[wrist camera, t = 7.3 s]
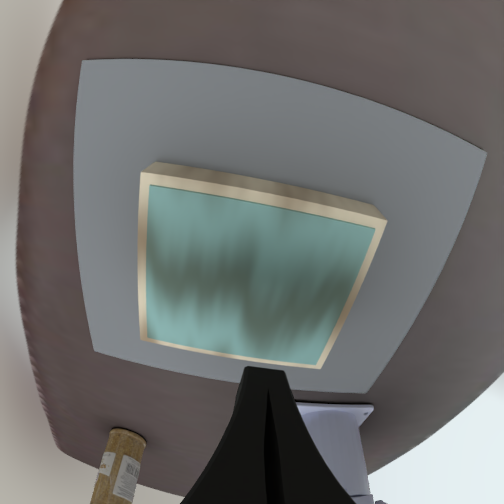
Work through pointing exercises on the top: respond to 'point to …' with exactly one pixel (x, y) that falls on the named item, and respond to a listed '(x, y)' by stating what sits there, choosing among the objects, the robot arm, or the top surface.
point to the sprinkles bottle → (119, 468)
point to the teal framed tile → (248, 264)
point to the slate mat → (272, 169)
